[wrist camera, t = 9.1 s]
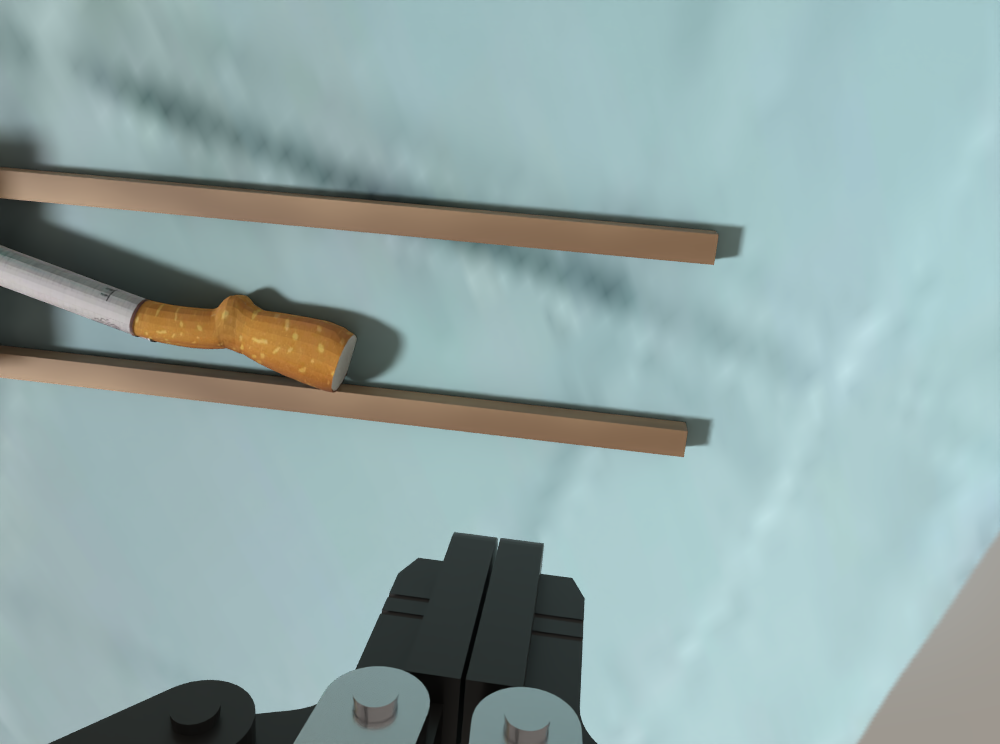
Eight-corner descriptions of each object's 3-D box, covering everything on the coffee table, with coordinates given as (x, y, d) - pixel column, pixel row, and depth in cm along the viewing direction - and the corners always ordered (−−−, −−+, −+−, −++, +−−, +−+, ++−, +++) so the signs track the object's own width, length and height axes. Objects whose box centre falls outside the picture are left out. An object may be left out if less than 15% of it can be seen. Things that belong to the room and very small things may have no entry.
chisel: (350, 325, 29) (319, 405, 28) (363, 336, 31) (335, 409, 31) (-149, 141, 29) (-184, 219, 29) (-90, 169, 32) (-122, 239, 32)
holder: (-223, 146, 31) (-380, 154, 26) (715, 231, 28) (738, 257, 23) (-183, 347, 33) (-318, 388, 29) (681, 447, 30) (696, 513, 25)
